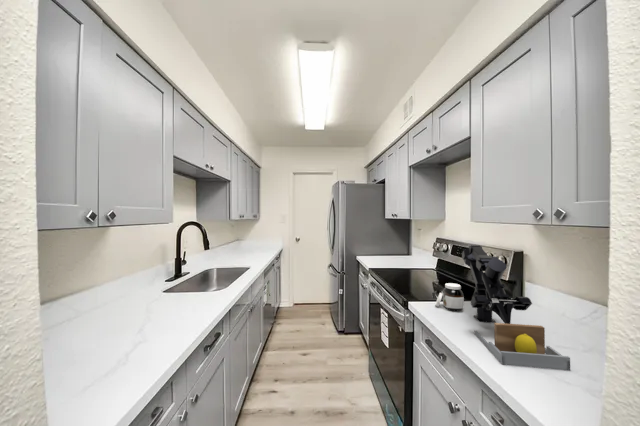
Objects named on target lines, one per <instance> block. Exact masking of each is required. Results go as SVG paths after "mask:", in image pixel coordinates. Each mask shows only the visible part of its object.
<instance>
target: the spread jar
mask: <svg viewBox="0 0 640 426" xmlns="http://www.w3.org/2000/svg"><path fill="white" fill-rule="evenodd" d="M461 289H462V286H461V285H460V284H458V283H453V282H448V283H447V282H446V283H445V284H444V288H443V289H442V292H439V294H438V296H437V299H436V302H435V306H436V307H439V306H440V304H441V301H442V303H443V304H442V305H443V307H444V308H445V310H447V311H451V312H462V310H463V309H465V308H464V307H465V305H464V304H465V301H464V300H465V298H464V297H465V296H464V293H463V291H462V290H461Z"/></svg>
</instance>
